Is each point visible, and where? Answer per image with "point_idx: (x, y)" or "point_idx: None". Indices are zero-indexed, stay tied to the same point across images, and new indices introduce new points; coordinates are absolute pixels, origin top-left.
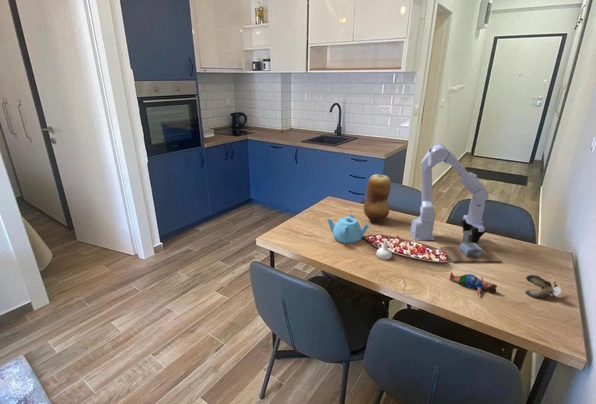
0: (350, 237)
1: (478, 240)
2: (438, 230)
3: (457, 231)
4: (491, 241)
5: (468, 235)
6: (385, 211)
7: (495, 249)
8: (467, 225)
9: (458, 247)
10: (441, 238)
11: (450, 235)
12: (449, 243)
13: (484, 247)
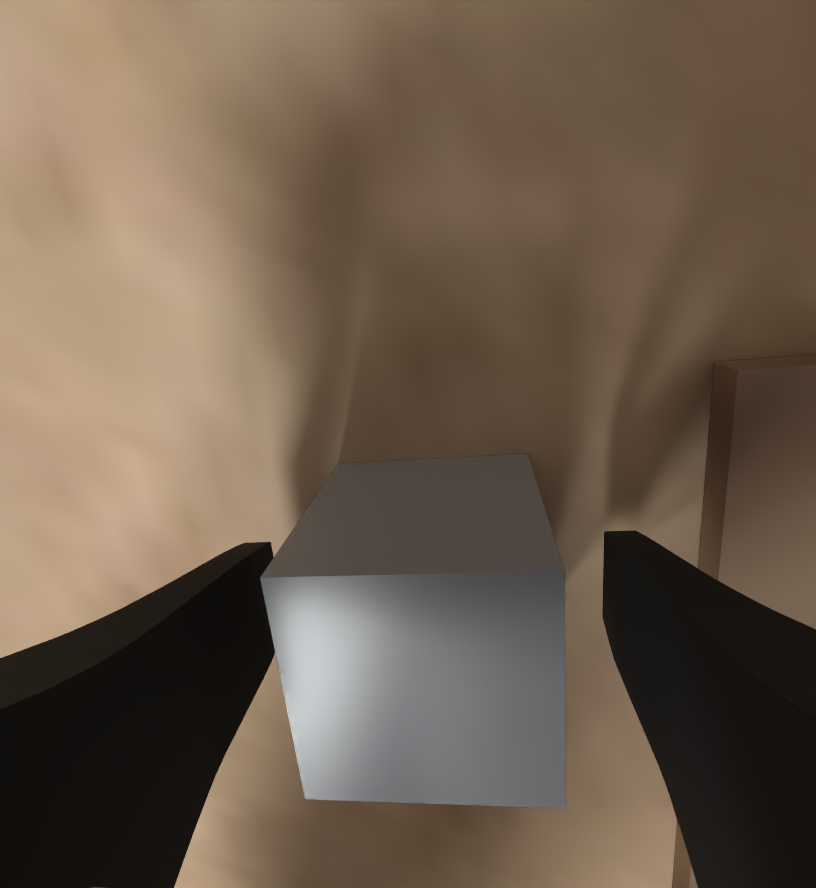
0: None
1: (683, 563)
2: None
3: (9, 555)
4: (340, 20)
5: (544, 785)
6: None
7: (772, 122)
8: (127, 833)
9: None
10: (337, 862)
11: None
12: (496, 833)
13: (780, 415)
